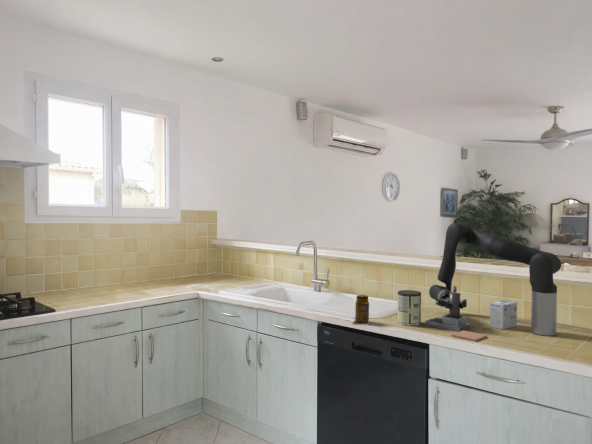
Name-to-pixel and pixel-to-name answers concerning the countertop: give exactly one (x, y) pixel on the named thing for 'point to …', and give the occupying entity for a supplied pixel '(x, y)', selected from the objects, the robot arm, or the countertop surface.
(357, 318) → the condiment
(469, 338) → the pink square coaster
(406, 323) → the coffee can
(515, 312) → the light bulb box
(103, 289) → the countertop surface
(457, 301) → the plug
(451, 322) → the grey holder stand
